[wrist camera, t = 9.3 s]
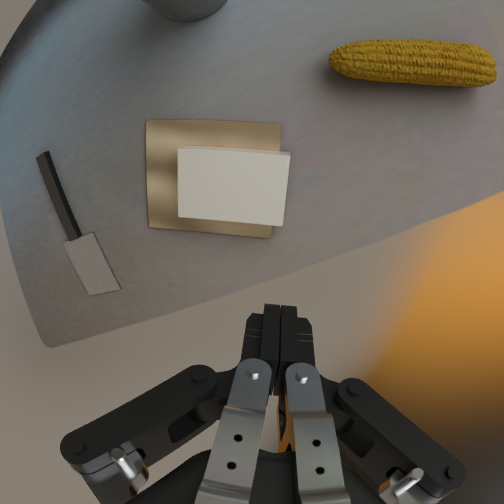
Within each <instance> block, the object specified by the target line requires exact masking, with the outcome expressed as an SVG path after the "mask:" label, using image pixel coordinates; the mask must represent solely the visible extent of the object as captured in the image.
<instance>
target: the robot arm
mask: <svg viewBox="0 0 504 504" xmlns="http://www.w3.org/2000/svg"><path fill="white" fill-rule="evenodd" d="M142 1H143V2H145V3H147V4H148V5H150V6H152V7H153V8H155V9H156V10H158V11H159V12H161V13H162V14H164V15H165V16H167V17H169V18H171V19H173V20H178V21H194V20H199V19H202V18H205V17H207V16H209V15H211V14H213V13H214V12H215V11H217V10H218V9H219V8H220V7H221V6H222V5H223V4H224V3H225V2H226V0H142ZM273 387H274V391H273ZM272 391H273V395H276V396H279V401H278V402H279V403H278V407H277V428H278V453H271V452H268V451H264V450H261V449H259V446H260V441H261V435H262V430H263V424H264V418H265V410H266V406H267V403H268V398H269V395H272ZM216 420H220V422H219V426H218V430H217V433H216V436H215V440H214V443H213V447H212V449H210V450H206V451H203V452H200V453H198V454H196V455H194V456H192V457H191V458H189V459H188V460H187V461H185V462H184V463H182V464H181V465H180V466H178V467H177V468H176V469H174V470H173V471H171V472H170V473H169V474H167V475H166V476H164V477H163V478H161V479H160V480H158V481H157V482H155V483H154V484H153V485H151V486H150V487H148V488H147V489H145V490H143V491H142V492H140V493H139V494H137V492H138V490H139V489H140V488H141V487H142V486H143V485H144V484H145V483H146V482H147V480H148V478H149V471H148V468H147V467H149V466H151V465H153V464H154V463H156V462H157V461H159V460H160V459H162V458H163V457H165V456H167V455H168V454H170V453H171V452H173V451H174V450H176V449H178V448H179V447H180V446H182V445H183V444H185V443H187V442H188V441H189V440H191V439H192V438H194V437H195V436H197V435H198V434H200V433H201V432H202V431H204V430H205V429H207V428H208V427H209V426H211V425H212V424H213V423H215V421H216ZM338 447H339V448H340V449H341V450H342V451H344V453H346V454H347V455H348V456H349V457H350V458H351V459H352V460H353V461H354V462H355V463H356V464H357V465H358V466H359V467H360V468H361V469H362V470H363V471H364V472H365V473H367V474H368V475H369V476H370V477H371V478H372V479H373V480H374V481H375V482H376V483H378V484H379V485H380V489H379V495H380V496H379V495H378V494H377V493H376V492H375V491H374V490H372V488H371V487H370V486H369V485H367V483H366V482H365V481H364V480H363V479H362V478H361V477H360V476H359V475H358V474H357V473H356V472H355V471H354V470H353V469H352V468H350V466H348V465H347V464H345V463H344V462H342V461H341V460H340V454H339V448H338ZM60 451H61V454H62V456H63V457H64V459H65V460H66V461H67V462H68V463H69V464H70V465H71V467H72V468H73V469H74V470H75V471H76V472H77V473H78V474H79V475H80V476H81V477H82V478H83V479H84V480H85V481H86V483H87V485H88V486H89V487H90V489H91V490H92V492H93V493H94V495H95V496H96V498H97V499H98V501H99V502H100V503H101V504H437V503H438V502H439V500H440V499H442V498H443V497H445V496H447V495H448V494H450V493H451V492H453V491H454V490H456V489H457V488H458V487H460V486H461V485H462V484H463V483H464V481H465V478H466V470H465V467H464V465H463V464H462V463H461V462H460V461H459V460H458V459H457V458H455V457H454V456H453V455H451V454H450V453H449V452H448V451H447V450H445V449H444V448H443V447H442V446H440V445H439V444H438V443H437V442H435V441H434V440H433V439H432V438H431V437H429V436H428V435H427V434H425V432H423V431H422V430H421V429H420V428H418V427H417V426H416V425H415V424H414V423H412V422H411V421H410V420H409V419H408V418H406V417H405V416H404V415H403V414H402V413H400V412H399V411H398V410H397V409H396V408H395V407H393V406H392V405H391V404H390V403H389V402H387V401H386V400H385V399H384V398H383V397H381V396H380V395H379V394H378V393H377V392H376V391H374V390H373V389H372V388H371V387H370V386H369V385H367V384H366V383H365V382H364V381H362V380H360V379H356V378H348V379H345V380H343V381H342V382H341V383H337V382H334V381H331V380H328V379H326V378H324V377H323V376H321V375H320V374H319V372H318V370H317V369H316V367H315V357H314V346H313V336H312V326H311V324H310V323H309V321H308V320H307V318H298V317H297V307H296V306H285V305H281V308H280V305H275V304H265V305H264V313H263V314H257V313H252V314H251V315H250V316H249V318H248V319H247V322H246V329H245V335H244V341H243V348H242V355H241V360H240V362H239V364H238V365H237V366H236V367H235V368H233V369H231V370H229V371H224V372H215V371H214V370H213V369H212V368H210V367H208V366H205V365H193V366H190V367H188V368H187V369H185V370H183V371H182V372H180V373H178V374H176V375H175V376H173V377H171V378H170V379H168V380H166V381H164V382H163V383H161V384H159V385H158V386H156V387H154V388H152V389H151V390H149V391H147V392H145V393H144V394H142V395H140V396H138V397H136V398H135V399H133V400H131V401H129V402H127V403H126V404H124V405H122V406H120V407H118V408H117V409H115V410H113V411H111V412H109V413H107V414H105V415H103V416H101V417H100V418H98V419H96V420H94V421H92V422H90V423H88V424H86V425H84V426H83V427H80V428H78V429H76V430H74V431H72V432H70V433H68V434H67V435H66V436H65V437H64V438H63V439H62V441H61V444H60Z"/></svg>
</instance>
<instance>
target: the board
mask: <svg viewBox="0 0 504 504" xmlns="http://www.w3.org/2000/svg"><path fill="white" fill-rule="evenodd" d="M281 131H282V125H280V124H269V123H257V122H242V121H224V120H185V119H172V120H146V170H147V198H148V216H149V227H154V228H165V229H177V230H188V231H199V232H209V233H220V234H230V235H241V236H251V237H261V238H271V233H272V225H263V224H253V223H242V222H231V221H220V220H209V219H197V218H185V217H178V148H180V147H182V146H184V145H208V146H227V147H242V148H255V149H267V150H278V151H280V142H281Z"/></svg>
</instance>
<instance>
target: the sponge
mask: <svg viewBox="0 0 504 504" xmlns="http://www.w3.org/2000/svg"><path fill="white" fill-rule="evenodd" d="M289 163H290V152H287V151H278V150H267V149H255V148H242V147H227V146H208V145H184V146H182V147H180V148H178V217H185V218H197V219H209V220H220V221H231V222H242V223H253V224H263V225H273V226H283V217H284V209H285V200H286V191H287V182H288V173H289Z"/></svg>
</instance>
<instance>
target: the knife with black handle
mask: <svg viewBox="0 0 504 504" xmlns="http://www.w3.org/2000/svg"><path fill="white" fill-rule="evenodd" d="M36 160H37V162H38V165H39V168H40V171H41V174H42V177H43V179H44V182H45V185H46V187H47V190H48V192H49V195H50V197H51V200H52V202H53V205H54V207H55V210H56V212H57V214H58V217H59V219H60V221H61V223H62V226H63V228H64V230H65V232H66V235H67V237H68V239H69V240H68V241H66V242H63V245H64V247H65V249H66V251H67V253H68V255H69V257H70V259H71V261H72V263H73V265H74V267H75V269H76V271H77V273H78V275H79V277H80V279H81V281H82V282H83V284H84V286H85V288H86V290H87V292H88V293H89V295H95V294H100V293H105V292H110V291H115V290H120V289H121V286H120V284H119V282H118V280H117V278H116V276H115V275H114V273H113V271H112V269H111V267H110V265H109V262H108V260H107V258H106V256H105V254H104V252H103V250H102V248H101V246H100V244H99V242H98V239H97V237H96V235H95V233H94V232H91V233H88V234H85V235H82V234H81V231H80V229H79V227H78V225H77V222H76V220H75V218H74V215H73V213H72V211H71V208H70V206H69V204H68V201H67V199H66V196H65V194H64V191H63V189H62V186H61V183H60V181H59V178H58V175H57V173H56V170H55V167H54V164H53V162H52V159H51V156H50V153H49V151H47V152H44V153H43V154H41V155H40V156H38V157H37V158H36Z"/></svg>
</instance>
